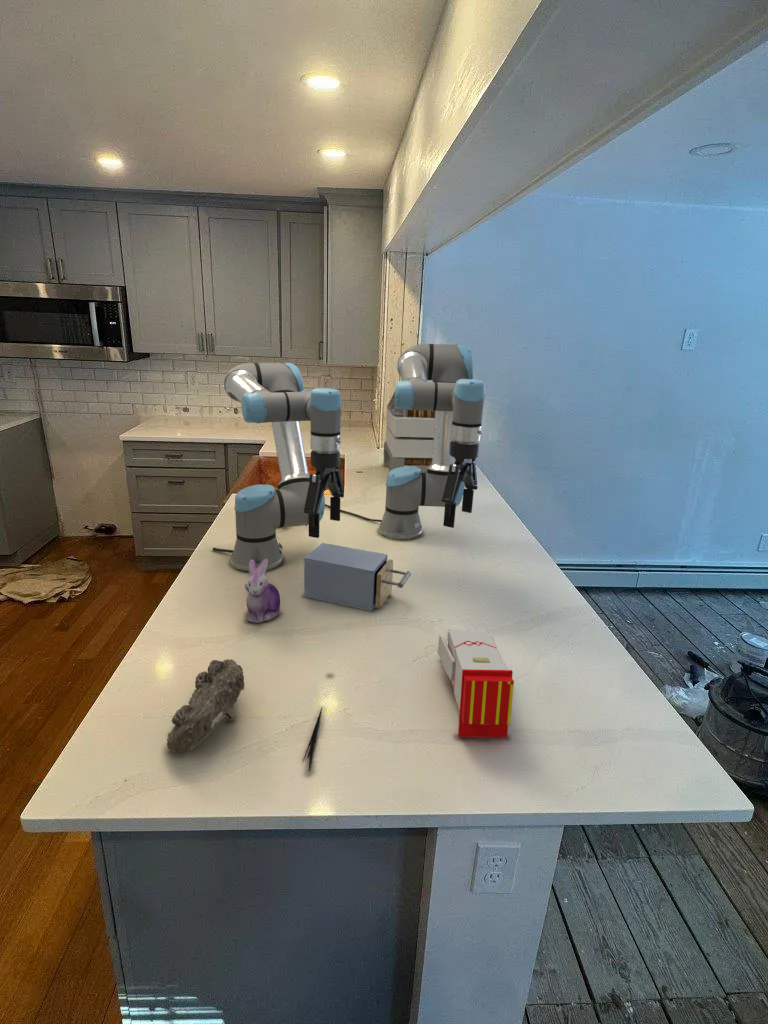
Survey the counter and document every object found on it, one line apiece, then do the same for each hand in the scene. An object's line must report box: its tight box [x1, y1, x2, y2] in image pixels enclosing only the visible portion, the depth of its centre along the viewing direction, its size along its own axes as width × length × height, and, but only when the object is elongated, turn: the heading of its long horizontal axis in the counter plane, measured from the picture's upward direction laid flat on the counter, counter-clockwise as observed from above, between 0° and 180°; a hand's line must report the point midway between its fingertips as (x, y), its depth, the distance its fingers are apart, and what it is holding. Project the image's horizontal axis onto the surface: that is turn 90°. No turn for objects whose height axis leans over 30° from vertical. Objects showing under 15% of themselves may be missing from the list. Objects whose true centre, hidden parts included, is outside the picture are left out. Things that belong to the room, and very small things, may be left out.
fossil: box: [166, 658, 245, 754], centre depth 106 cm, size 22×10×15 cm
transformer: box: [383, 391, 435, 472], centre depth 268 cm, size 34×33×41 cm
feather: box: [301, 673, 332, 771], centre depth 108 cm, size 2×28×2 cm
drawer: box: [374, 558, 412, 608], centre depth 153 cm, size 24×10×10 cm, turn 71°
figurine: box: [244, 559, 282, 624], centre depth 141 cm, size 9×10×15 cm
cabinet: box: [303, 542, 389, 612], centre depth 154 cm, size 20×11×12 cm, turn 71°
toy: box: [437, 628, 515, 738], centre depth 117 cm, size 12×13×30 cm
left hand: (324, 528), depth 152 cm, fingers open, 13 cm apart
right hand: (457, 519), depth 153 cm, fingers open, 13 cm apart
